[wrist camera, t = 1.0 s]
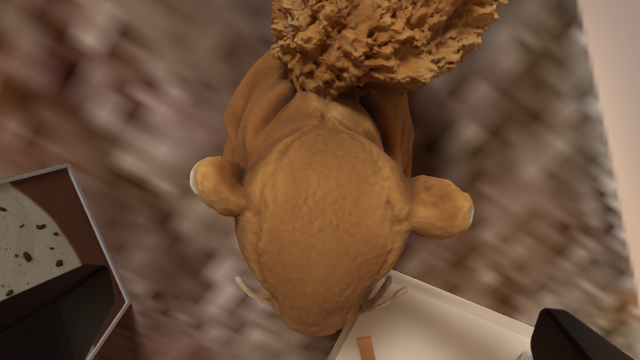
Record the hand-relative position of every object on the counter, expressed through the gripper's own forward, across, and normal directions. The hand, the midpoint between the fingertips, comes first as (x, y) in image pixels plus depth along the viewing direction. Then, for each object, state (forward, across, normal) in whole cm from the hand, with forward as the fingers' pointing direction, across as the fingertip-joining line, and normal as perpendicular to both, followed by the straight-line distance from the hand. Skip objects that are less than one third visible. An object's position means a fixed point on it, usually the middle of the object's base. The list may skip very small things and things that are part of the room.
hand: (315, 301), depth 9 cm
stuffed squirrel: (+14, +1, -1) cm, 14 cm away
